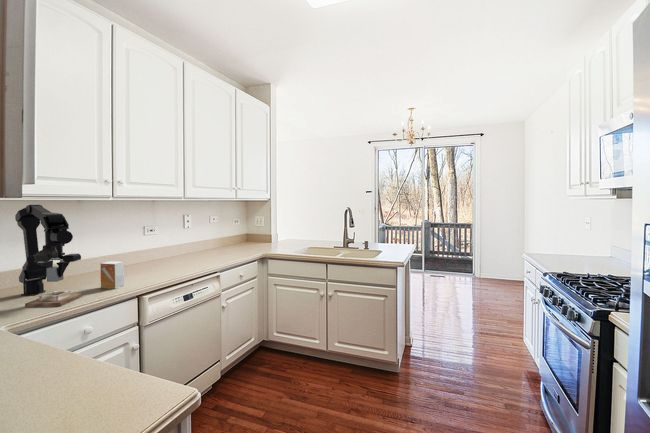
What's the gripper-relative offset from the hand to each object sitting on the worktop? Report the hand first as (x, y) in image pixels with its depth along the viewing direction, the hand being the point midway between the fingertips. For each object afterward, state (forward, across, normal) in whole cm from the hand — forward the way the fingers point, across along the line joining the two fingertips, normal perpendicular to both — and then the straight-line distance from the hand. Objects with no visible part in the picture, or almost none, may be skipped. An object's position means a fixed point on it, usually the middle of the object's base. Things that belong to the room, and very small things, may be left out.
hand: (55, 277), depth 139 cm
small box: (+11, +12, +22) cm, 27 cm away
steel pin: (+2, 0, 0) cm, 2 cm away
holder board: (+11, 0, 0) cm, 11 cm away
